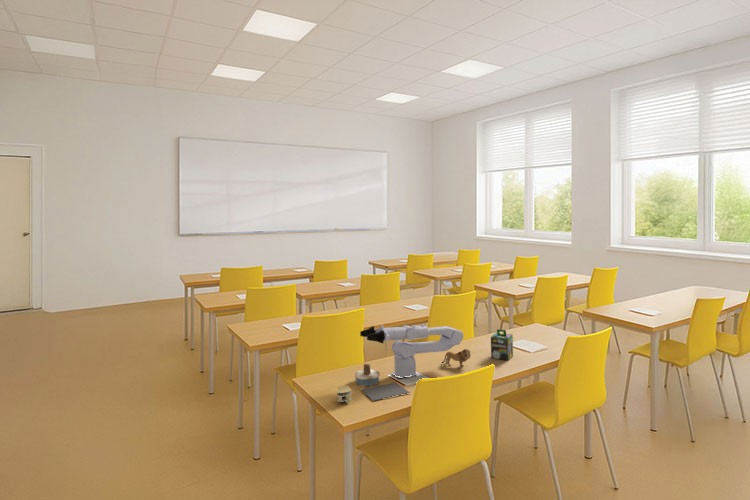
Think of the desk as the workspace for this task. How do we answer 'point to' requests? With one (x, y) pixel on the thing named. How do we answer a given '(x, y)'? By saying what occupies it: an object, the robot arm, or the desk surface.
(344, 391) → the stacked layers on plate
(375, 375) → the lid
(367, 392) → the mat
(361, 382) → the bowl
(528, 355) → the desk surface
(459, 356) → the lion figurine
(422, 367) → the desk surface
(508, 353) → the chalk box
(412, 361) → the robot arm
